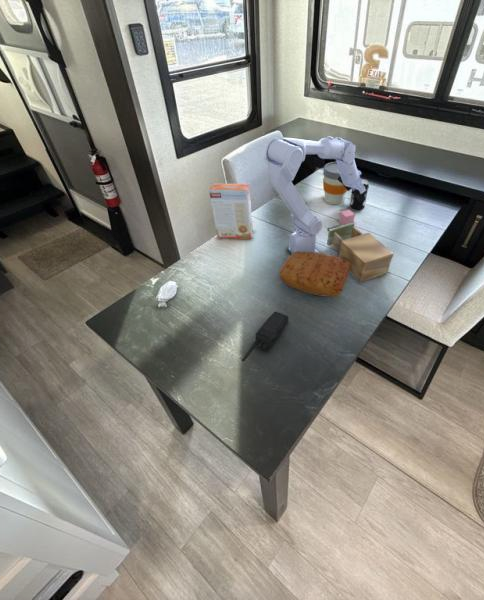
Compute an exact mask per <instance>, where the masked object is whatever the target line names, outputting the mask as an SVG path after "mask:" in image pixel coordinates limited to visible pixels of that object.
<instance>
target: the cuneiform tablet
mask: <svg viewBox="0 0 484 600" xmlns="http://www.w3.org/2000/svg"><path fill="white" fill-rule="evenodd" d="M350 267H351V263H350V262H348V261H346V260H344V259H342V258H339V256H338V257H337V256H334V255H330V254H325V253H320V252H319V253H313V252H295V253H293V254H292V253H291V254H290V255H289V257H288V258H287V259H286V261H285V262H284V263H283V265H282V266H281V268H280V271H279V276H278V277H279V278H280V280H281V281H282V282H283V283H284V284H285V285H287V286H289V287H290V288H292V289H295V290H298V291H301V292H304V293H306V294H307V293H308V294H311V295H315V296H320V297H321V296H324V297H329V298H334V297H335V298H336V297H338V296H340V295H341V294H342V292H343V289H344V287H345V285H346V283H347V280H348V277H349V275H350V272H349V271H350Z"/></svg>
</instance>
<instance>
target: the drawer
mask: <svg viewBox="0 0 484 600" xmlns="http://www.w3.org/2000/svg"><path fill="white" fill-rule="evenodd" d="M326 231H327V239H326V240H327V241H326V245H327V247H330V246H331V248H333V249H334V251H336V252H337V254H339V253H340V246H341V241H343V240H346V239H349V238H352V237H356V236H359V235H362V234H363V233H362V231H360V230H359V229H358V228H357V227H356V226H355V223H349V224H345V225H343V224H342V223H341V224H337V225H334V226H333V225H332V226H330V227H327V228H326Z"/></svg>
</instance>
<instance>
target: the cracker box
mask: <svg viewBox="0 0 484 600" xmlns="http://www.w3.org/2000/svg"><path fill="white" fill-rule="evenodd" d="M208 192H209V197H210V205H211V209H212V215H213V220H214V226H215V231H216V236H217V239H238V240H239V239H242V240H251V239H252V237H253V233H254V225H253V215H252V214H253V213H252V204H251V203H252V202H251V194H250V193H251V192H250V183H217V182H216V183H214V182H213V183H211V186H210V188H209V190H208Z"/></svg>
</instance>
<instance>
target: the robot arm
mask: <svg viewBox="0 0 484 600" xmlns="http://www.w3.org/2000/svg"><path fill="white" fill-rule="evenodd" d="M355 152H356V144H354V143H353V142H352V141H349V140H347V139H344V138H342V137H338V136H337V137H333V136H331V135H327V136H326V137H323V138H320V139H319V140H318V141H315V140H309V139H301V138H295V137H293V138H292V137H282V138H279V137H273V138H272V139H270V140H269V141H268V143H267V145H266V149H265V153H264V156H263V157H264V160H265V162H266V164H267V168H268V173H269V180H270V181H269V182H270V184H271V186H272V187H273V189H274V190H275V192H276V193H277V194H278V196H279V197H280V199H281V200H282V202H283V203H284V204H285V205H286V207H287V208H288V210H289V211H290V213H291V214H290V217H291V219H292V224H293V225H294V226H295V231H294V232H293V233H290V235H289V243H288V245H289V246H288V250H289V252H290V253H291V255H292V254H293V253H295V252H313V253H320V251H319V250H318V249H317V248H316V246H317V245H316V244H317V235H318V234H319V233H320V232H321V230H322V228H323V220H322V219H321V218H319V217H317V215H315V214H314V213H313V212H312V211H311V210H310V209H309V208H308V206H307V205H306V203H305V201H304V199H303V198H302V196H301V195H300V193H299V191H298V190H297V188H296V186H295V185H294V184H293V181H294V179H295V177H296V175H297V173H298V172H299V169H300V167H301V164H302V163H303V162H304V161H305V159H306V155H317V156H318V157H319V159H323V160H325V159H326V160H335V162H337V165H338V168H339V169H338V173H339V174H340V177H338V181H339V182H340V183H342V184H343V185H344V187H345V188H346V189H347V190H348V191H347V192H349V191H351V194H353V195H354V196H355V197H356V198H357V200H358V201H359V202H361V201H362V200H363V199H364V196H365V192H366V190H367V188H368V187H367V185H366V184H365V183H364V184H362V181H361V179H362V178H361V175H362V172H361V170H359V169H358V168H357V164H356V160H355V159H356V157H355V154H356V153H355ZM352 188H353V189H355V190H354V191H352ZM368 189H369V188H368Z"/></svg>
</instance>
